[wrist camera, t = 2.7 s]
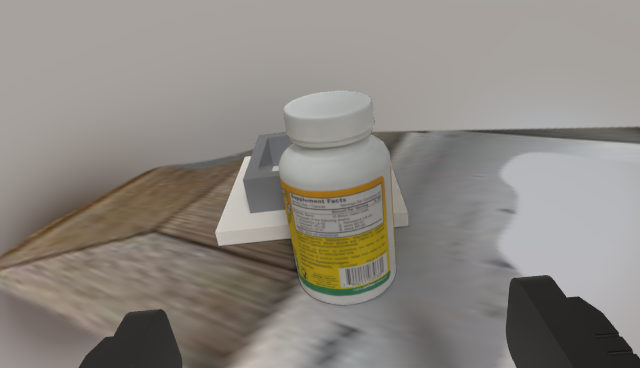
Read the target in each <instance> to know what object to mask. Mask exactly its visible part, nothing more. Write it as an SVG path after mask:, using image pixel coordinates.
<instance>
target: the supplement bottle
mask: <svg viewBox="0 0 640 368" xmlns="http://www.w3.org/2000/svg"><path fill="white" fill-rule="evenodd" d="M284 119H285V126H286V133H287V135H288V136H289V139H290V141H291V142H293V143H292V144H291V145H290V146H289V147H288V148H287V149H286V150H285V151H284V153H283V154H282V156H281V159H280V162H279V175H280V181H281V186H282V192H283V198H284V203H285V209H286V214H287V220H288V225H289V229H290V234H291V241H292V245H293V251H294V257H295V262H296V267H297V272H298V276H299V279H300V282H301V285H302V287H303V288H304V290H305V291H306V292H307V293H308V294H310V295H311V296H312V297H313V298H315V299H318V300H320V301H323V302H326V303H330V304H336V305H351V304H357V303H362V302H365V301H368V300H371V299H373V298H375V297H376V296H378V295H380V294H381V293H383V292H384V291H385V290H386V289H387V288H388V287H389V286H390V284H391V283H392V281H393V279H394V277H395V274H396V250H395V232H394V214H393V196H392V176H391V159H390V154H389V151H388V149H387V147H386V146H385V144H384V143H383V142H382V141H381V140H380V139H378V138H377V137H375V136H373V135H371V134H370V133H371V132H372V130H373V125H374V117H373V107H372V100H371V98H370V96H368V95H366V94H364V93H359V92H353V91H330V92H321V93H314V94H310V95H306V96H303V97H300V98H298V99H295V100H293V101H291V102H289V103H288V104H287V105H286V106H285V107H284Z"/></svg>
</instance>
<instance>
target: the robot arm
mask: <svg viewBox="0 0 640 368" xmlns="http://www.w3.org/2000/svg"><path fill="white" fill-rule="evenodd" d="M506 338H507V344H508V348H509V351H510V354H511V357H512V359H513V361H514V363H515V365H516V367H517V368H640V358H639V357H638V356H637V354H633V351H632V348H631V347H630V346H629V345H628V344H627V342H626V341H625V340H624V339H623V337H620V336H619V333H618V331H617V330H616V329H615V328H614V326H613V325H612V324H611V323H610V321H609V320H608V319H607V318H606V317H605V315H604V314H603V313H602V312H601V311H599V310H597V309H596V308H595V307H593V306H592V305H590V304H589V303H587V302H586V301H584V300H583V299H581V298H580V297H568V298H567V297H566V296H565V295H564V293H563V292H562V291H561V289H560V288H559V287H558V285H557V284H556V283H555V281H554V280H553V279H552V278H551V277H550V276H548V275H544V276H532V277H521V278H513V279H512V280H511V282H510V287H509V298H508V310H507V321H506ZM79 368H182V358H181V354H180V351H179V348H178V346H177V343H176V340H175V337H174V334H173V331H172V329H171V326H170V323H169V320H168V317H167V315H166V313H165V312H164V311H163V310H161V309H158V310H148V311H137V312H129V313H128V314H126V316H125V317H124V318H123V320H122V322H121V324H120V325H119V327H118V329H117V331H116V333H115V334H114V336H112V337H105V338H104V339H103V340H102V341H101V342H100V343H99V344H98V345H97V346H96V347H95V348H94V349H93V350H91V351H90V352H89V353H88V354H87V355H86V357H85V358H84V360H83V361H82V363H81V365H80V367H79Z"/></svg>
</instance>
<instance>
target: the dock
mask: <svg viewBox="0 0 640 368" xmlns="http://www.w3.org/2000/svg"><path fill="white" fill-rule="evenodd" d="M381 141H382V140H381ZM382 142H383V141H382ZM292 143H293V142H291V141H290V139H289V136H288V135H287V133H286V132H282V133H274V134H266V135H259V137H258V139H257V142H256V145H255V147H254V150H253V153H252V156H249V157H245V159H244V161H243V164H242V166H241V169H240V171H239V174H238V176H237V179H236V181H235V184H234V186H233V189H232V191H231V194H230V197H229V199H228V202H227V204H226V207H225V209H224V212H223V214H222V217H221V219H220V222H219V224H218V227H217V229H216V232H215V234H216V237H217V241H218V244H219V246H222V245H232V244H241V243H251V242H260V241H270V240H280V239H289V238H291V234H290V229H289V225H288V220H287V214H286V209H285V203H284V198H283V192H282V186H281V181H280V175H279V162H280V159H281V156H282V154H283V153H284V151H285V150H286V149H287V148H288V147H289V146H290V145H291V144H292ZM383 143H384V142H383ZM391 176H392V196H393V214H394V228H395V227H405V226H408V211H407V208H406V205H405V203H404V200H403V197H402V194H401V191H400V188H399V185H398V182H397V179H396V176H395V174H394V171H393V168H392V165H391Z"/></svg>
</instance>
